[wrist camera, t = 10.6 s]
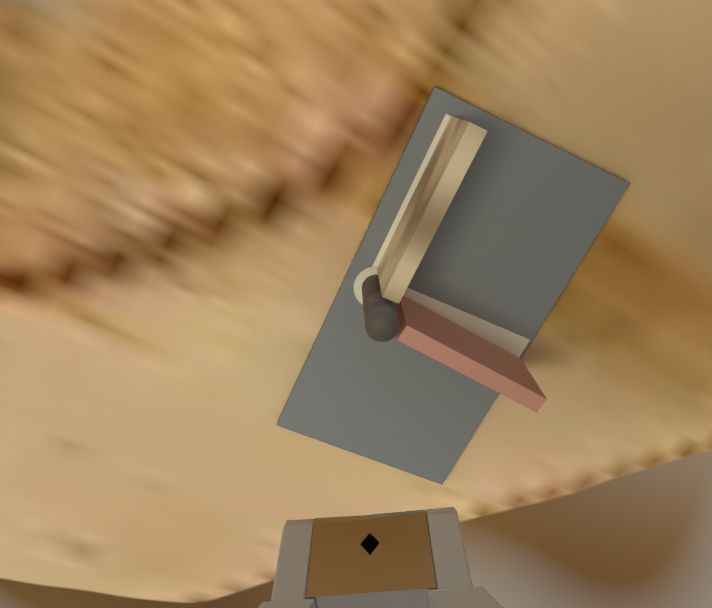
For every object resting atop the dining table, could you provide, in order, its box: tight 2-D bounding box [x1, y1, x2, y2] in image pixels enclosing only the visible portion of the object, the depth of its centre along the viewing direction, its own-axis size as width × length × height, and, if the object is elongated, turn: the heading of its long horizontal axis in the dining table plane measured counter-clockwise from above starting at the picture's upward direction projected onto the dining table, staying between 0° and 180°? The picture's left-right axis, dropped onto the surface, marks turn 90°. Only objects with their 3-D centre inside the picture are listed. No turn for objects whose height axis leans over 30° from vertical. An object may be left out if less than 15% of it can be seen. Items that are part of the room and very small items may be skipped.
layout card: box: [277, 87, 629, 484], centre depth 36 cm, size 24×13×1 cm, turn 156°
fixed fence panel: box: [362, 116, 487, 342], centre depth 30 cm, size 12×2×6 cm, turn 156°
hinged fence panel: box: [394, 296, 547, 412], centre depth 33 cm, size 10×1×5 cm, turn 60°
